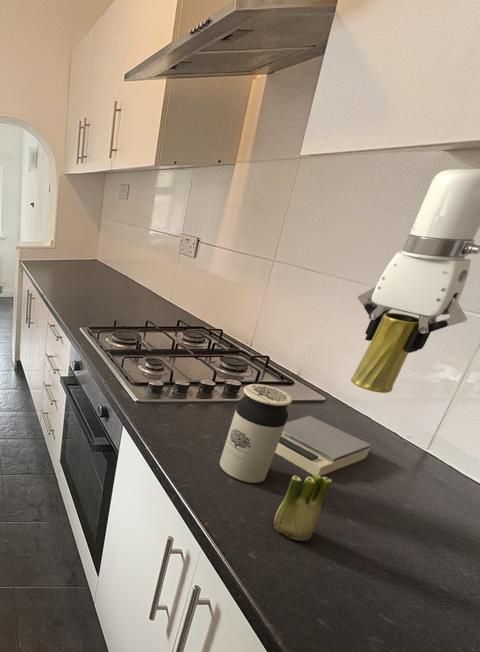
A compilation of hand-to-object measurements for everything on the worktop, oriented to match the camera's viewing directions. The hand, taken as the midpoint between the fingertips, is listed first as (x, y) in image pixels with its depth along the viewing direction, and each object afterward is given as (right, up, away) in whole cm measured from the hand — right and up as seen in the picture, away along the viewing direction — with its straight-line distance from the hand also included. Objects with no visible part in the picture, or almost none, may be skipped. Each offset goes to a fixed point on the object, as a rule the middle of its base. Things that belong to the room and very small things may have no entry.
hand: (391, 344), depth 78 cm
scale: (-5, -23, +12) cm, 26 cm away
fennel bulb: (-26, -32, -8) cm, 42 cm away
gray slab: (-4, -20, +11) cm, 23 cm away
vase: (0, -8, +4) cm, 9 cm away
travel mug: (-24, -26, +6) cm, 36 cm away
